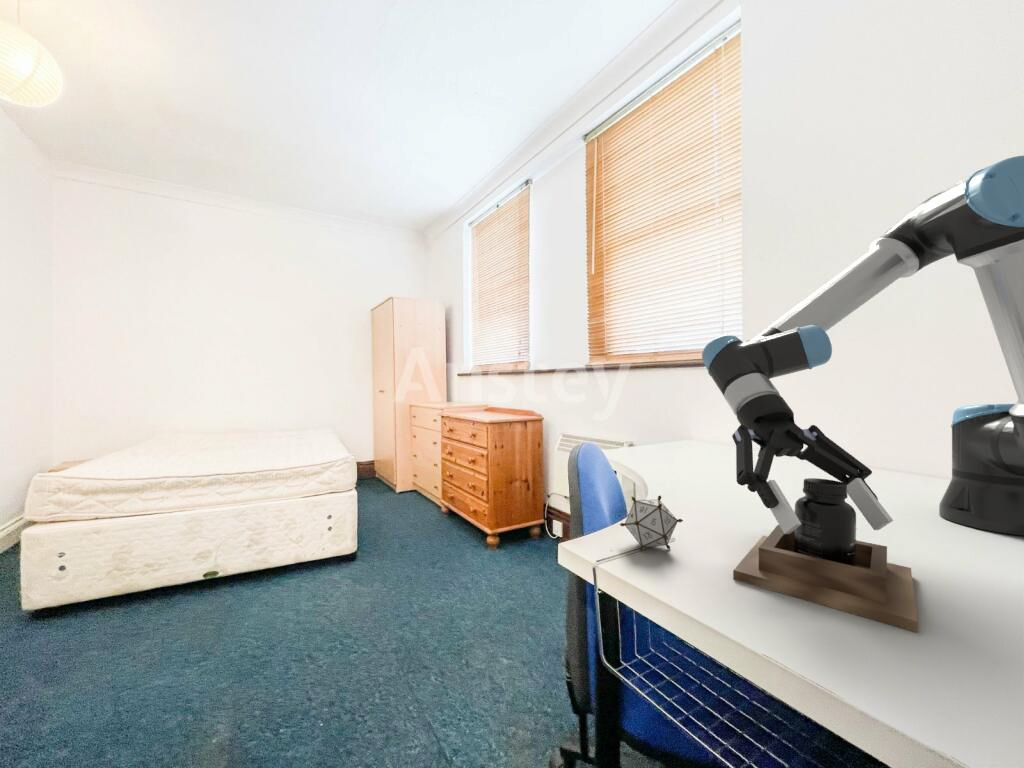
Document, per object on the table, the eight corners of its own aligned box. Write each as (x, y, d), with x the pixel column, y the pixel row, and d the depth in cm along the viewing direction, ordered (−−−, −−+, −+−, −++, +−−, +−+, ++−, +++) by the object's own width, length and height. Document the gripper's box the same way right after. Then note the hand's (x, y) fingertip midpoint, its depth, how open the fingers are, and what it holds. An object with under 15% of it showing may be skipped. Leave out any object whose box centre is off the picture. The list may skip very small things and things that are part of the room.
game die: (638, 570, 68) (600, 517, 70) (663, 540, 73) (627, 491, 75) (678, 561, 61) (635, 502, 63) (703, 528, 66) (663, 474, 68)
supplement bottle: (868, 582, 54) (869, 489, 54) (808, 577, 55) (809, 485, 55) (837, 560, 61) (838, 477, 61) (785, 556, 62) (786, 474, 62)
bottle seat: (910, 576, 58) (911, 546, 58) (917, 632, 45) (917, 593, 45) (762, 542, 71) (763, 517, 71) (733, 578, 57) (733, 547, 57)
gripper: (811, 421, 75) (898, 536, 60) (680, 421, 71) (738, 543, 56) (838, 392, 70) (942, 510, 55) (698, 390, 66) (768, 516, 51)
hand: (839, 527), depth 55 cm, fingers open, 13 cm apart
